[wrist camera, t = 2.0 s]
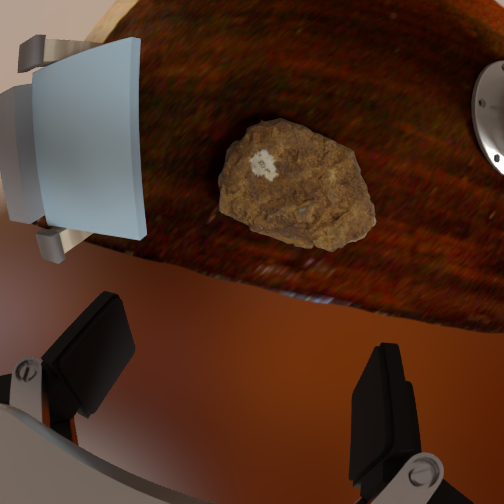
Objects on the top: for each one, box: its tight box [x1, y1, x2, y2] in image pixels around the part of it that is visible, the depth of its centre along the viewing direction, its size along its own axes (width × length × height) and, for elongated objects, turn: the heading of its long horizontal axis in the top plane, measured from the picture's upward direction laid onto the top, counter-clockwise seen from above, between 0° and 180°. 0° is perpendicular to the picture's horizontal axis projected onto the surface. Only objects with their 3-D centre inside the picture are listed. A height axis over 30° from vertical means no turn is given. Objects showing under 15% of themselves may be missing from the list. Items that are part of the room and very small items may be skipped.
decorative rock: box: [218, 118, 376, 252], centre depth 25 cm, size 11×4×15 cm
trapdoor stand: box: [18, 35, 105, 263], centre depth 22 cm, size 3×20×13 cm, turn 178°
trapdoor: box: [0, 37, 147, 240], centre depth 18 cm, size 15×14×5 cm
